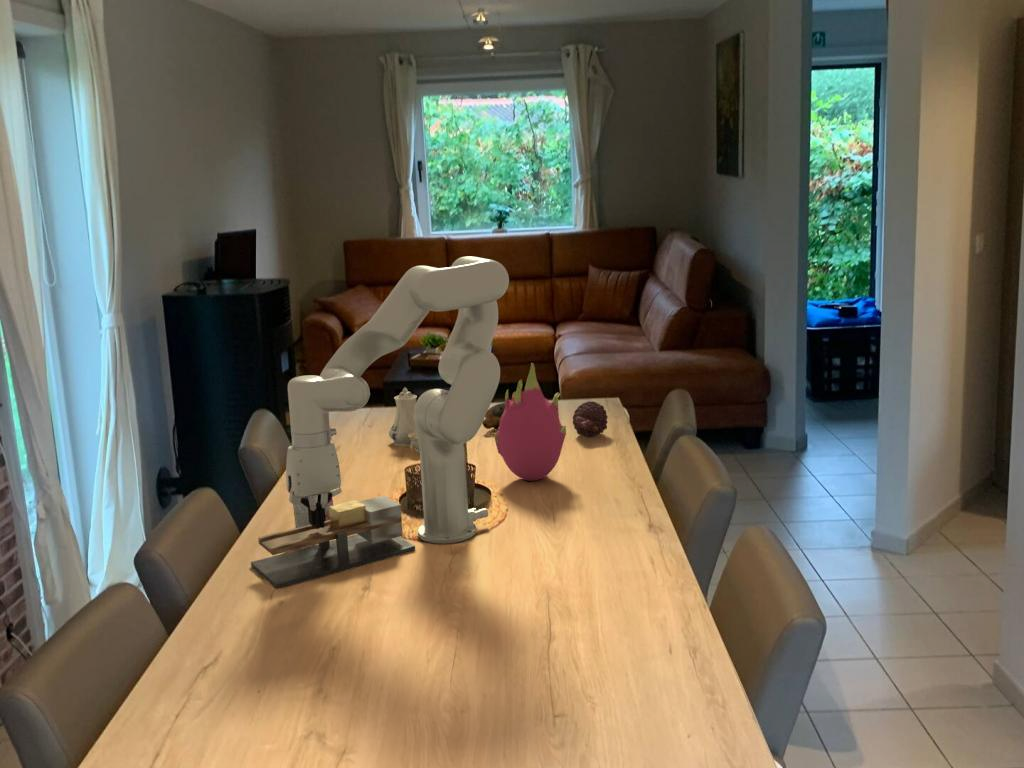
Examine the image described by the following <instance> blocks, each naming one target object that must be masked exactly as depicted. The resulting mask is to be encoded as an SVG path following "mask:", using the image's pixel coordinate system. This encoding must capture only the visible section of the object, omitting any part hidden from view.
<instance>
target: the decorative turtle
mask: <svg viewBox="0 0 1024 768" xmlns="http://www.w3.org/2000/svg"><path fill="white" fill-rule="evenodd" d="M504 410H505V402H503V403H502V402H501V403H498V404H495V405H493V406H490V407H489V408H488V411H487V413H486V415H485V418H484V420H483V422H482V425H483V427H484V428H485V429H488V430H489V429H490V430H491V429H492V428H493V429H495V430H497V429H499V424H500V419H501V416H502V414H503V412H504Z"/></svg>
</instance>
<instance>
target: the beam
mask: <svg viewBox="0 0 1024 768" xmlns="http://www.w3.org/2000/svg"><path fill="white" fill-rule="evenodd" d="M358 502H360V503H362V504H364V505H365V506H366V519H367V523H364V524H360V525H356V526H352V527H348V528H344V529H340V530H338V529H336V528H335V527H333V526H332V525H331V522H330V520H327V521H325V522H324V526H325V527H324V528H321V527H320V528H319V529H316V528H314V527H313V526H312V525H306V526H302V527H298V528H296V527H294V528H291V529H287V530H283V531H279V532H275V533H271V534H266V535H263V536H258V539H257V540H258V544H259V546H261V547H262V548H263V549H265V550H266V551H267V552H268V553H269V554H271V555H272V556H276V555H280V554H284V553H288V552H291V551H295V550H299V549H303V548H307V547H310V546H314V545H318V544H319V543H322V542H326V541H333V540H336V533H339V532H342V531H346V532H347V537H349V536H352V535H356V534H358V535H360V536H361V537H363V538H364V539H366V540H367V541H369V542H370V543H372V544H373V543H377V542H381V541H385V540H388V539H392V538H396V537H403V536H404V535H403V533H404V532H403V521H402V504H401V503H398V502H396V501H395V500H393V499H391V498H390V497H387V496H386V495H380V496H376V497H373V498H368V499H364V500H361V501H360V500H359V501H358Z"/></svg>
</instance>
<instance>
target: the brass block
mask: <svg viewBox="0 0 1024 768" xmlns="http://www.w3.org/2000/svg"><path fill="white" fill-rule="evenodd" d="M329 510H330V522H331V525H332V526H333V527H335V528H336V529H338V530H340V529H344V528H348V527H352V526H356V525H360V524H364V523H367V519H366V506H365V505H364V504H362V503H360V502H359V501H358V500H356V499H353V500H350V501H345V502H342V503H339V504H337V503H336V504H333V506H329Z"/></svg>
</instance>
